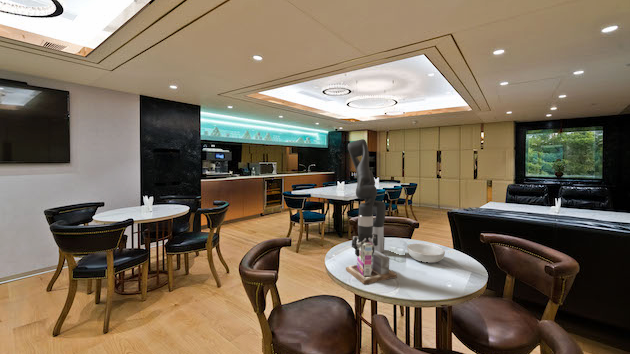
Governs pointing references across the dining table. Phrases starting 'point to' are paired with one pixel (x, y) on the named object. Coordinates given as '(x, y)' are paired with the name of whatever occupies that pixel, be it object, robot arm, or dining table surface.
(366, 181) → the robot arm
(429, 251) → the serving bowl
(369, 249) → the candy bar box
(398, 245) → the dining table surface
